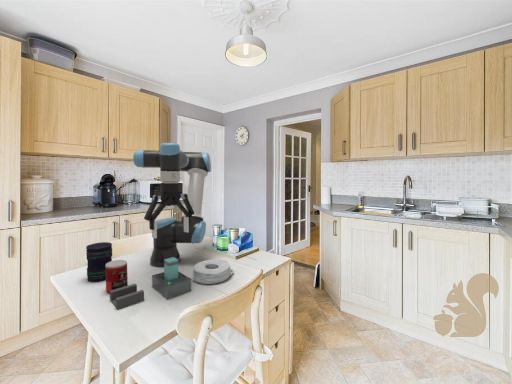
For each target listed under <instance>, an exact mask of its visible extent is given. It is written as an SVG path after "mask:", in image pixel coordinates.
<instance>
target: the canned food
mask: <svg viewBox="0 0 512 384" xmlns="http://www.w3.org/2000/svg"><path fill="white" fill-rule="evenodd" d="M105 273H106V280H105V290H106V292H107V293H108V294H110V291H112V290H115V289H118V288H122V287H125V286H128V282H129V281H128V262H127V260H124V259H116V260H112V261H110V262H108V263H106V266H105Z"/></svg>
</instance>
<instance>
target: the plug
mask: <svg viewBox="0 0 512 384" xmlns="http://www.w3.org/2000/svg"><path fill="white" fill-rule="evenodd" d="M163 271H164V275H165V280H167V281H171V280H174V279H177V278H178V271H179V263H178V259H176V258H174V257H172V258H168V259H164V269H163Z"/></svg>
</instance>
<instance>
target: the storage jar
mask: <svg viewBox="0 0 512 384" xmlns="http://www.w3.org/2000/svg"><path fill="white" fill-rule="evenodd" d="M85 248H86V249H85V251H86V253H85V256H86V262H87V263H86V265H87V268H86V275H87V278H86V279H87V282H88V283H102V282H106V273H105V266H106V263H108V262H110V261H113V259H112V258H113V244H112V243H111V242H108V241H106V242H103V241H102V242H95V243H91V244H88V245H86V247H85Z"/></svg>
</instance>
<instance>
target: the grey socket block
mask: <svg viewBox="0 0 512 384" xmlns="http://www.w3.org/2000/svg"><path fill="white" fill-rule="evenodd" d="M151 283H152V284H151V287H152V288H153V290H155V291H156V292H157V293H159V294H160V295H161V296H162V297H164V298H165V299H166V300H171V299H174V298H176V297H178V296H182V295H184V294H186V293H188V292H192V279H191V277H188V276H187V275H185V274H184V273H182V272H180V271H179V270H178V278H177V279H174V280H171V281H167V280H165V275H164V272H159V273H157V274H152V276H151Z"/></svg>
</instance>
